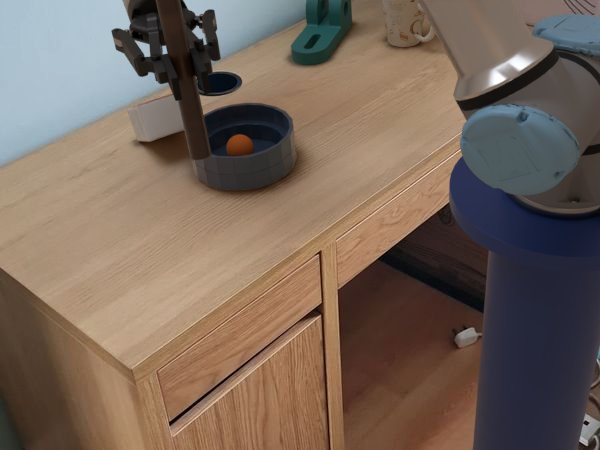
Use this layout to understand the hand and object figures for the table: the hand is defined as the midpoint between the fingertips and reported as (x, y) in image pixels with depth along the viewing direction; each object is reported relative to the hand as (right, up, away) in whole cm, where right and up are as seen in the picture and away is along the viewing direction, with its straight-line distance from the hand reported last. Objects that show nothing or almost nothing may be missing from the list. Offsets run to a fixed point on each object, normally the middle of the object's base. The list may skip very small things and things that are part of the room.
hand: (191, 85), depth 86 cm
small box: (-11, +2, +39) cm, 41 cm away
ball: (+3, -4, +29) cm, 30 cm away
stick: (0, -7, +10) cm, 12 cm away
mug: (+32, +18, +57) cm, 68 cm away
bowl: (+4, -6, +31) cm, 32 cm away
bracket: (+16, +19, +61) cm, 66 cm away
